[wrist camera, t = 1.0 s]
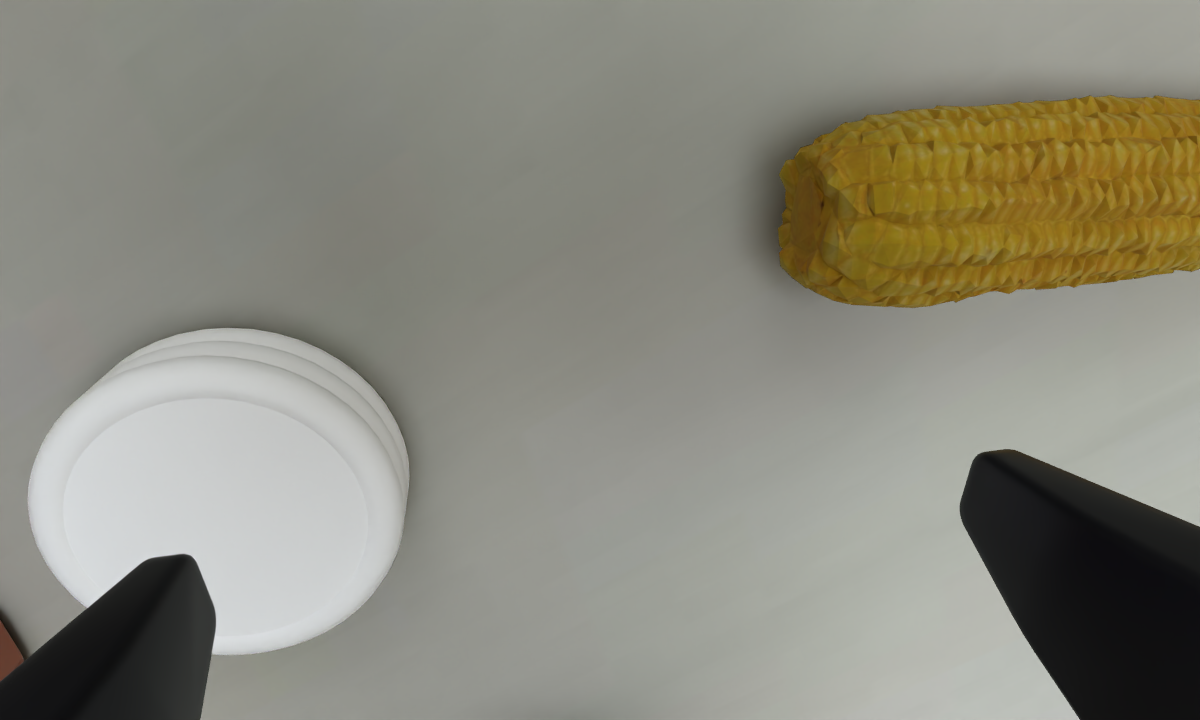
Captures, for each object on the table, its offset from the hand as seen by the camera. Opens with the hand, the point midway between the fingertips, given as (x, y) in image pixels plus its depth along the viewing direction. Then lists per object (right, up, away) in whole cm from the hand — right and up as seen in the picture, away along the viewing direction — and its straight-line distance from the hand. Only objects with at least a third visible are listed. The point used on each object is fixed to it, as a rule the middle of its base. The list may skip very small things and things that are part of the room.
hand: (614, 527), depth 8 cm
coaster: (-12, -1, +16) cm, 20 cm away
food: (+15, +8, +17) cm, 24 cm away
